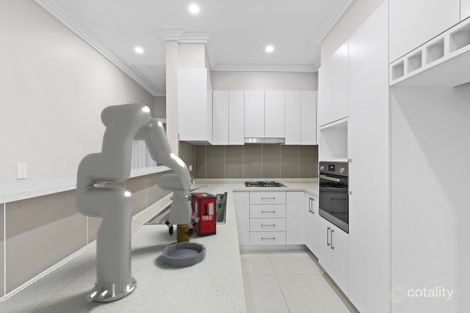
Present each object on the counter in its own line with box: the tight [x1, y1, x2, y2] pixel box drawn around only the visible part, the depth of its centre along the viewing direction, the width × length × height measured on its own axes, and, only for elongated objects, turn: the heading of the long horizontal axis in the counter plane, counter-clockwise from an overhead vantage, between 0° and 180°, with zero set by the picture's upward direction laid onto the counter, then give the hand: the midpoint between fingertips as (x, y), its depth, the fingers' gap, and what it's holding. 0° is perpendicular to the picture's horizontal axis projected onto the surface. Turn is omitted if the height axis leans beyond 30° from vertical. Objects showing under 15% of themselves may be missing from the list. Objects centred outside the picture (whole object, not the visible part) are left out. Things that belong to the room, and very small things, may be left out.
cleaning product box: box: [190, 192, 217, 238], centre depth 128 cm, size 16×9×20 cm, turn 27°
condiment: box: [170, 225, 191, 245], centre depth 109 cm, size 7×8×12 cm
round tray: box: [161, 241, 207, 268], centre depth 95 cm, size 17×17×3 cm
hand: (181, 235), depth 109 cm, fingers open, 9 cm apart
